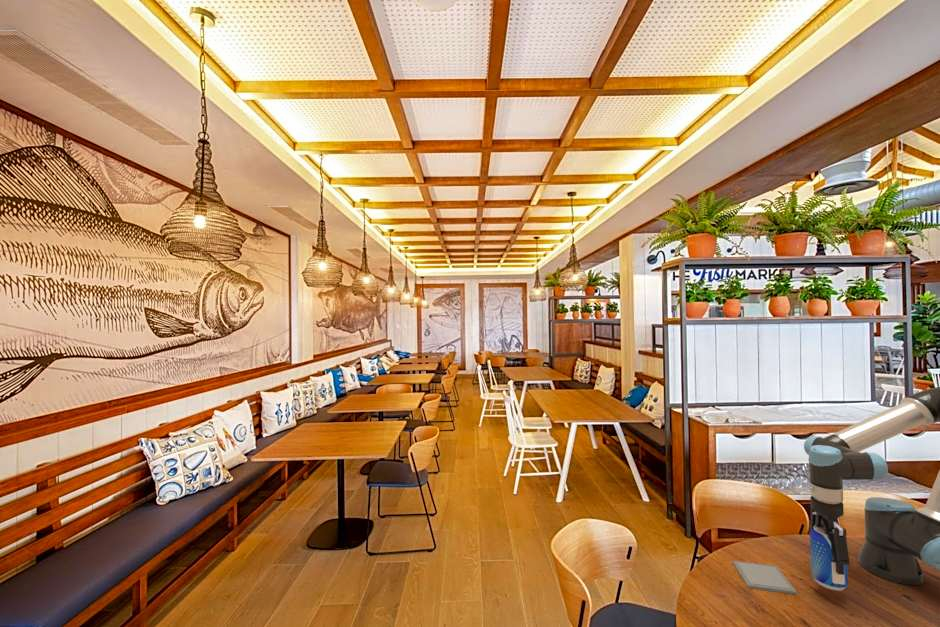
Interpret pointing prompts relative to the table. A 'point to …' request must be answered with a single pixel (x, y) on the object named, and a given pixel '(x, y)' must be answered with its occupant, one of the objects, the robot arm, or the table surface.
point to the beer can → (823, 560)
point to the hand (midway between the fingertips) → (829, 573)
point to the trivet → (764, 577)
